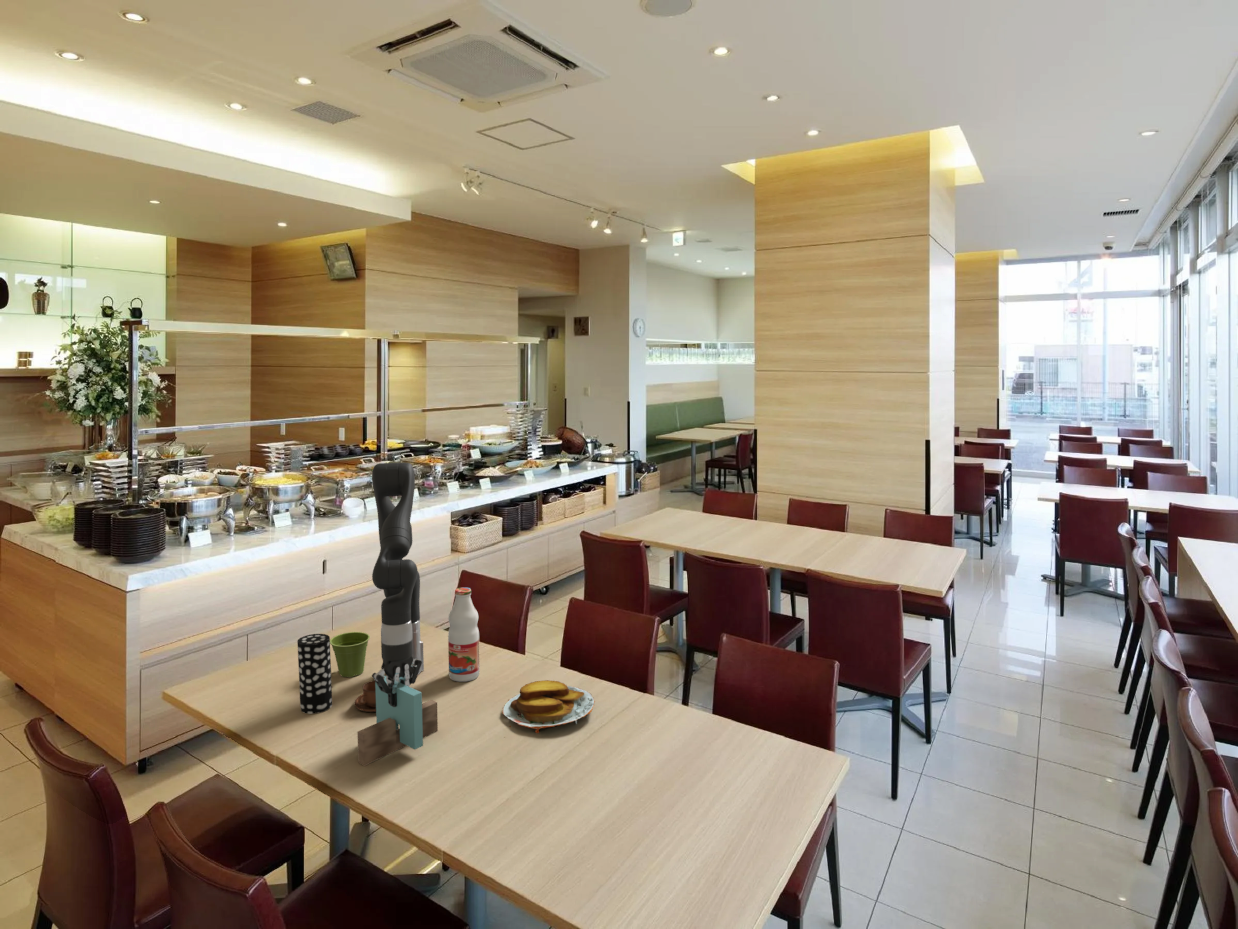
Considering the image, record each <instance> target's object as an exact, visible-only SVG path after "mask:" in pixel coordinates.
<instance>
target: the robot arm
mask: <svg viewBox="0 0 1238 929" xmlns="http://www.w3.org/2000/svg"><path fill="white" fill-rule="evenodd" d="M371 473H372V474H371V480H372V481H371V482H372V488H373V489H372V490H373V495H374V500H375V507H376V510H377V524H378V539H379V546H380V550H379V554H378V557H377V559H376V562H375V565H374V566H373V570H372V574H371V575H372V576H371V579H372V582H373V585H374V586H375V587H376V588H377V589H378V590H382V591H383V594H384V597H385V598H384V599H382V600H381V604H380V609H381V610H380V613H381V625H380V626H381V627H380V647H381V648H380V649H381V659H382V664H381V667H380V670H378V671H377V672H374V673H372V674H371V677H372V679H373V681H374V680H375V682H376V684H377V685H378V687H379V689H380V690H381V691H382V692H384V693H387V694H388V703H389V704H390V706H392V707H396V706H397V693H396V691H397V684H398V682H400V683H402V684H404V685H406V686H409V687H410V686H411V685H414V684H415V683H416V680H417V679H418V675H420V673H421V672H422V671H424V670H425V667H424V666H425V664H424V662H425V661H424V659H425V658H424V642H423V641H422V640H421V612H420V596H421V595H420V594H421V592H420V591H421V577H420V572H419V571H418V566H417V564H416V563H415V562H414V560H412V559H407V558H406V559H404V558H405V557H407V556H408V555H409V553H410V550H411V548H412V546H413V530H412V528H413V527H412V524H411V518H412V511H413V504H414V495H415V486H416V479H415V478H416V477H415V470H414V467H413V464H412V463H410V462H382V463H377V464H375V465H374V466H373V468H372V472H371ZM391 497H400V499H399V501H398V503H397V504H396V506H395V504H394V503H393V502H392V500H391ZM385 676H386V682H387V684H386V682H385V680H384V679H385Z"/></svg>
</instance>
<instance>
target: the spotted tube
mask: <svg viewBox="0 0 1238 929" xmlns="http://www.w3.org/2000/svg"><path fill="white" fill-rule="evenodd" d="M330 640H331V638H330V635H329V634H325V633H312V634H307V635H304V636H301V637H299V639H297V640H296V641H297V658H298V659H297V660H298V661H297V663H298V664H297V665H298V680H299V681H298V682H299V683H298V684H299V701H300V703H299V707H300V712H301V713H304V714H308V715H312V714H320V713H324V712H326V711H328V710H329V709H331V708H332V707H333V688H332V687H333V686H332V685H333V684H332V683H333V682H332V666H331V665H332V661H331V644H330Z"/></svg>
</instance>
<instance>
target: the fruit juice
mask: <svg viewBox="0 0 1238 929" xmlns="http://www.w3.org/2000/svg"><path fill="white" fill-rule="evenodd" d="M454 595H455V599H454V602H453V606H452V608H451V610H450V611H449V613H448V618H447V619H448V624H449V629H448V635H447V637H448V638H447V639H448V640H447V643H448V648H447V649H448V677H449V678H450V680H451V681H454V682H458V683H464V682H470V681H473V680H475V679H477V678H478V677H479V675H480V631H479V627H478V621H479V613H478V611H477V609H476V607H475V606H474V604H473V600H472V598H471V595H472V589H471V587H458V588H456V589H455V590H454Z"/></svg>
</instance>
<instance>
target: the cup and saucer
mask: <svg viewBox="0 0 1238 929" xmlns="http://www.w3.org/2000/svg"><path fill="white" fill-rule="evenodd" d="M353 704H354V706H355V707H356V709H358V710H359V711H362V712H367V713H376V688H375V680H374V679H373V680H369V681H368V682H366V683H364V684H363V685H362V694H361V695H359V696H357V697H355V699H354V702H353Z"/></svg>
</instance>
